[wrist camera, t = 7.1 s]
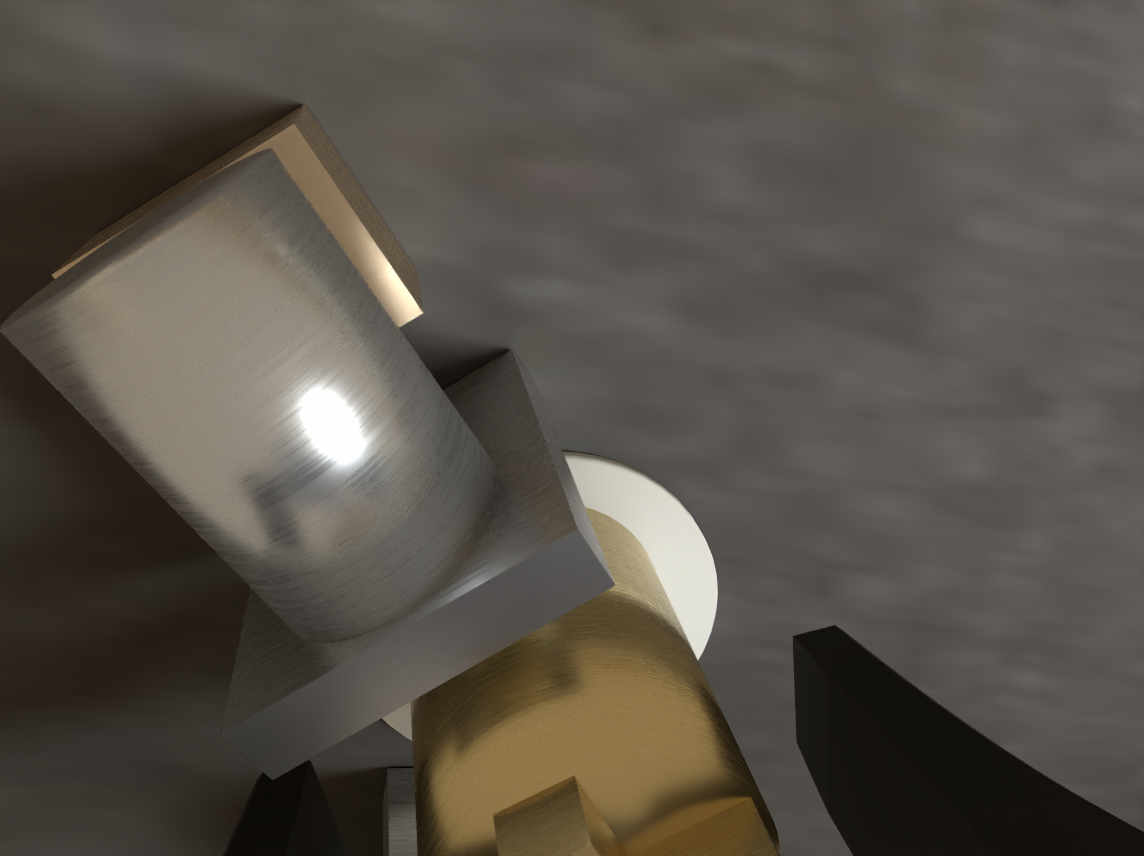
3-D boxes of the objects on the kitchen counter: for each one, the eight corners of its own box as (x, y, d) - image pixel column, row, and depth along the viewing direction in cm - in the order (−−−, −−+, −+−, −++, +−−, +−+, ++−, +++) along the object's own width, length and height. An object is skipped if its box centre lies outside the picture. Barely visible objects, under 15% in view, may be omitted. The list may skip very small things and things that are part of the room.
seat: (664, 750, 16) (668, 762, 16) (329, 751, 15) (329, 765, 15) (753, 467, 14) (761, 477, 14) (366, 433, 12) (365, 443, 12)
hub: (690, 639, 15) (850, 978, 10) (478, 742, 15) (529, 1128, 10) (599, 458, 13) (742, 764, 8) (357, 577, 13) (346, 953, 8)
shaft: (539, 393, 13) (615, 585, 9) (304, 531, 13) (272, 780, 9) (340, 81, 10) (319, 147, 6) (59, 257, 11) (-132, 426, 7)
